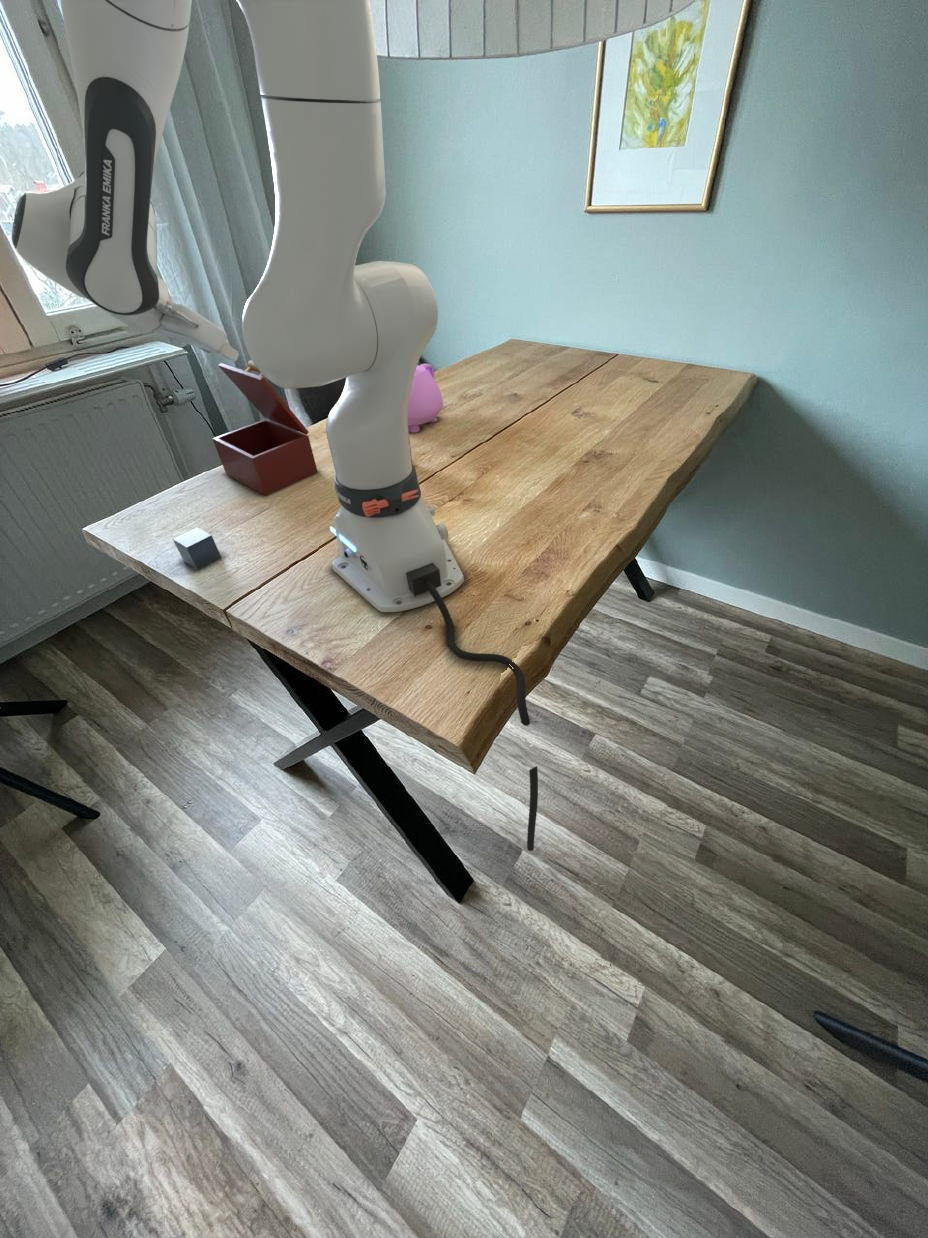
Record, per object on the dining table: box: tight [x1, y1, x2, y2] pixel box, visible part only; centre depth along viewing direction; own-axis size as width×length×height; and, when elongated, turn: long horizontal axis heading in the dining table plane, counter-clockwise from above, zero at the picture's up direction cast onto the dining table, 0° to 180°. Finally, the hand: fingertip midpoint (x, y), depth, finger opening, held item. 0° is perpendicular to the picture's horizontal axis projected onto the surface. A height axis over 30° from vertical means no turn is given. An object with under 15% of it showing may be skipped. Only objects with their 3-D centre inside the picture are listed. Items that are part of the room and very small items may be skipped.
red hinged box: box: [212, 418, 319, 497], centre depth 107 cm, size 13×16×8 cm
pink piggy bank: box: [408, 363, 444, 433], centre depth 121 cm, size 22×16×14 cm
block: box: [172, 526, 222, 571], centre depth 85 cm, size 4×4×4 cm
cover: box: [217, 359, 310, 436], centre depth 102 cm, size 14×16×5 cm
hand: (222, 352), depth 93 cm, fingers open, 8 cm apart
